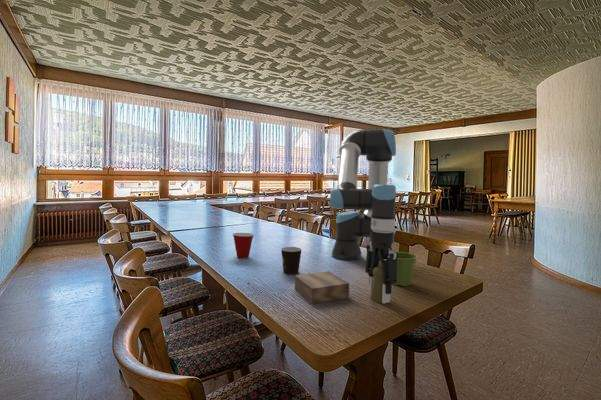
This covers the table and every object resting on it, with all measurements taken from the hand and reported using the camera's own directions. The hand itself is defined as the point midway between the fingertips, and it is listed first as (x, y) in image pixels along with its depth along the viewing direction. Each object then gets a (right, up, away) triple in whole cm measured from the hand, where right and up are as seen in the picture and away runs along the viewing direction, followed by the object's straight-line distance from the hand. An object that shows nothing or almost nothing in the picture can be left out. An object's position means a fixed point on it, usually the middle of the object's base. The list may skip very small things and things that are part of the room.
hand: (379, 298), depth 103 cm
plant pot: (+12, 0, +17) cm, 21 cm away
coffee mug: (-30, +2, +29) cm, 42 cm away
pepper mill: (0, -1, 0) cm, 1 cm away
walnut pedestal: (-19, 0, +5) cm, 20 cm away
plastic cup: (-55, +4, +51) cm, 75 cm away
